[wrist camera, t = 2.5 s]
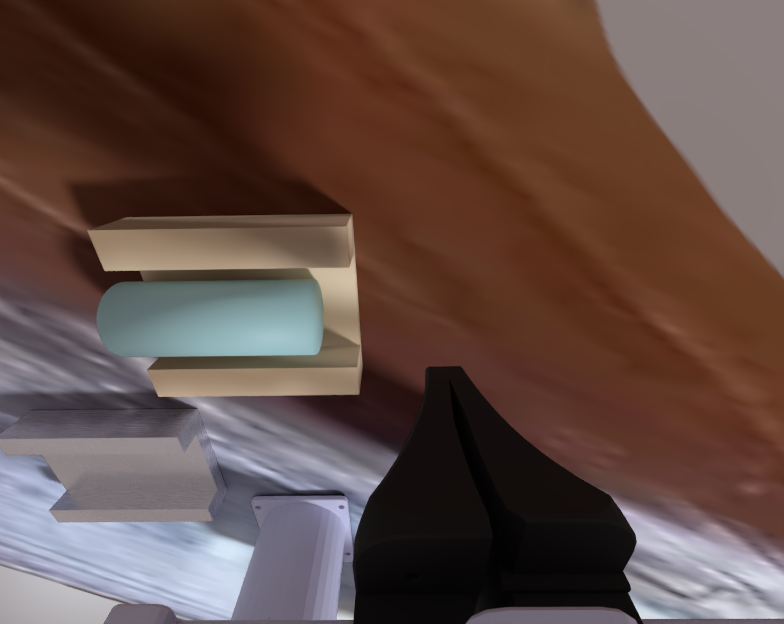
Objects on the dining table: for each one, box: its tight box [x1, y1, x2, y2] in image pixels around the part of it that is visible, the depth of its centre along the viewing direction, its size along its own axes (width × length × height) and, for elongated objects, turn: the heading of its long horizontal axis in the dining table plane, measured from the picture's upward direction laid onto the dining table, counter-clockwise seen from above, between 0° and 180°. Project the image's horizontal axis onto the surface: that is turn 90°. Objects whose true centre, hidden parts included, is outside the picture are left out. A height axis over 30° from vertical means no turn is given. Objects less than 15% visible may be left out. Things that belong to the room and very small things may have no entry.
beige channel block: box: [87, 214, 363, 397], centre depth 20 cm, size 10×12×3 cm
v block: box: [0, 409, 227, 522], centre depth 26 cm, size 9×12×3 cm
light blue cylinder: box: [97, 279, 324, 357], centre depth 18 cm, size 10×4×4 cm, turn 91°
